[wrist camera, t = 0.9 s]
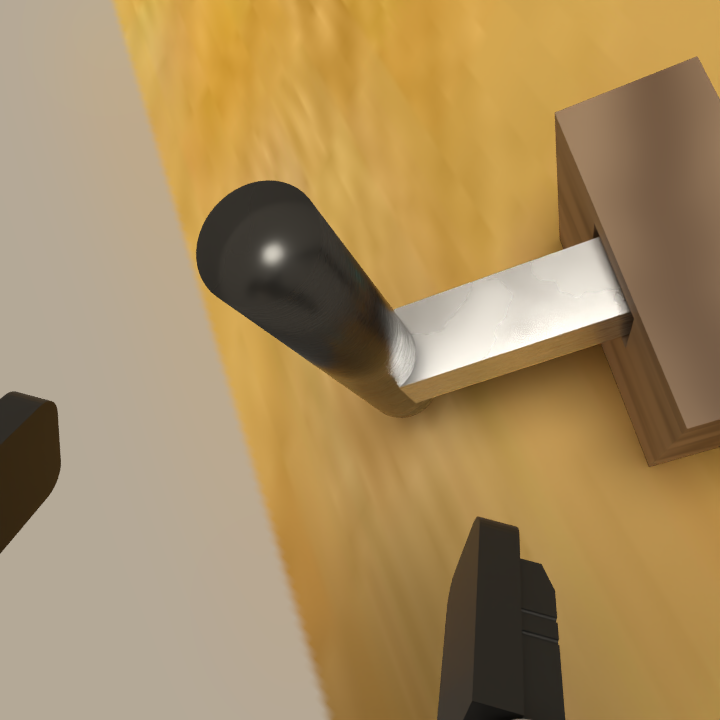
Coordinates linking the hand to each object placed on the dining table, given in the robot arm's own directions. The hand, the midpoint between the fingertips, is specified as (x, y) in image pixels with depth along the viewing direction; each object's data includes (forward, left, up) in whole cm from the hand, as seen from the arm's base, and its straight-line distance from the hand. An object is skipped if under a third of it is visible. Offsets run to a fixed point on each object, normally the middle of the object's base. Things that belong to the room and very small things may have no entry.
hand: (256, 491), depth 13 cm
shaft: (-11, +3, -17) cm, 20 cm away
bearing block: (-15, +7, -22) cm, 27 cm away
